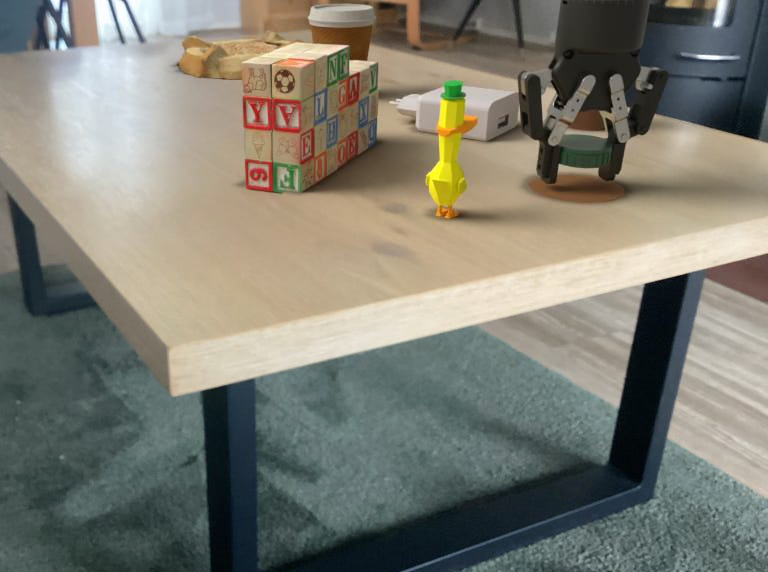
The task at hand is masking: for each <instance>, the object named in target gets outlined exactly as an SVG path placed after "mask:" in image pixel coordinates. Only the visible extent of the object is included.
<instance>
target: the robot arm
mask: <svg viewBox="0 0 768 572" xmlns="http://www.w3.org/2000/svg"><path fill="white" fill-rule="evenodd" d="M650 5H651V0H560V3H559V10H558V19H557V26H556V33H555V40H554V55H553V56H552V59H551V61H550V62H549V64H548V66H547V67H546V68H543V69H539V70H535V71H528V70H522V71H520V72H519V73H518V75H517V89H518V91H517V92H518V93H519V119H520V120H519V121H520V130H521V132H522V134H523V135H525V136H527V137H529V138H530V139H532V140H533V141H538V143H539V146H538V153H537V159H536V169H535V171H536V175H538V176H539V177H541V180H542V181H544V182H545V183H546V184H555V183H556V180H557V175H559V174H558V172H559V166H560V164H559V160H560V153H561V146H559V145H558V144H559V142H560V141H561V139H562V137H563V135H565V133H566V132H567V129H568V128H569V127H568V126H569V125H570V124H572V123H573V121H574V120H575V118H576V116H577V114H578V112H585V111H588V110H591V109H595V110H599V112H600V114H601V116H602V117H603V121H604V125H605V130H604V131H605V134H606V136H607V137H603V138H604V139H606V140H609V142H611V143H613V153H612V158H611V163H609V164H608V165H607V166H604V167H599V168H597V175H598V178H600V179H603V180H605V181H610V182H613V181H615V179H616V177H617V175H619V174H620V173H621V170H622V167H623V161H624V156H625V151H626V145H627V142H628V141H629V140H631V138H633V137H637V136H638V135H639V136H644V135H646V134H648V132H649V131H650V127H651V125H652V122H653V120H654V118H655V115H656V112H657V109H658V106H659V105H660V101H661V99H662V96H663V93H664V91H665V88H666V85H667V84H668V80H669V77H670V75H669V72H668V71H667V70H665V69H661V68H659V67H656V66H653V65H648V66H642V65H641V61H640V55H639V54H640V50H641V48H642V47H643V44H644V38H645V33H646V29H647V23H648V16H649V12H650ZM549 83H551V85H552V87H553V89H554V91H555V94H554V96H553V97H552V100H551V101H550V103H549V106H548V108H547V110H546V117H545V119H544V117H543V101H542V98H543V97H542V96H543V95H544V94H545V93H546V91H547V86H548V85H549ZM634 83H635V89H636V91H635V93H634V97H633V99H632V102H631V105H630V108H629V111H628V105H627V101H626V96H625V94H626V92H627V91H628V90H629V89H630V87H631V86H632V85H633V84H634Z"/></svg>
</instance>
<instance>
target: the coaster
mask: <svg viewBox="0 0 768 572" xmlns="http://www.w3.org/2000/svg"><path fill="white" fill-rule="evenodd" d="M528 187H529V189H530V190H531V191H532V192H533V193H535V194H537V195H540V196H542V197H546V198H549V199H553V200H558V201H565V202H571V203H587V204H588V203H590V204H591V203H605V202H611V201H615V200H619V199H620V198H622V197H624V195H625V192H626V191H625V189H624V188H623V187H622V186H621V185H620V184H618V183H615V182H613V181H605V180H603V179H602V178H600V177H595V176H590V175H589V176H588V175H581V174H557V180H556V183H555V184H546V183H545V182H544V181H542V180H541V176H539V177H536V178H534V179H531V180H530V181H529V182H528Z"/></svg>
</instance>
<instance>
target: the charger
mask: <svg viewBox="0 0 768 572" xmlns="http://www.w3.org/2000/svg"><path fill="white" fill-rule="evenodd" d="M444 92H445V88H444V86H441V87H439V88H436V89H433V90H431V91H427V92H425V93H423V94H417V93H411V94H408V95H405V96H403V97H402V98H396V99H395V101H393V100H390V101H388V103H389V105H391V106H396V110H397V113H399V114H400V115H402V116H406V117H412V118H415V128H416V129H417V130H418V131H419V132H421V133H428V134H434V135H439V134H438V133H437V131H436V127H437V123H438V120H439V116H440V103H441V99H442V98H441V97H440V95H441V94H442V93H444ZM461 92H464V93H465V94H466V97H464V98H465V99H466V101H465V112H464V115H469V116H476V117H478V121H477V124H476V126H475V127H474V128H473V129H472V130H470V131H469V132H467V133H465V134H462V137H461V139H466V140H467V139H468V140H474V141H479V142H480V141H481V142H488V141H490V140H492V139H494V138H497V137H499V136H500V135H503V134H505V133H507V132H508V131H510V130H512V129H514V128H516V127H517V125H518V118H519V117H518V116H519V111H520V106H519V91H511V90H510V91H509V90H503V89H502V90H501V89H495V88H486V87H478V86H477V87H476V86H468V85H462V90H461Z"/></svg>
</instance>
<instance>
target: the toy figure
mask: <svg viewBox="0 0 768 572" xmlns="http://www.w3.org/2000/svg"><path fill="white" fill-rule="evenodd" d="M463 83H464V82H463V81H462V80H447V81H444V82H443V87H444V88H445V92H444V93H442V94H441V95H440V97H441V98H442V99H441V103H440V116H439V120H438V123H437V127H436V131H437V133H438V134H437V135H438V149H439V150H438V151H439V161H437V163H436V164H435V166H434V167H433V169H431V171H428V173H427V174H425V185H426V186H427V187H428V194H429V195H430V197H431V198H432V200H433V202H434V203H435V204H436V205H437V212H436V214H435V217H442V216H444V218H445V219H452V218H455V217H457V216H459V215H460V212H459V211H458V210H453V205H455V203H456V202H457V201H458V199H459V198H460V196H461V195H462V194H464V193H465V192H466V190H467V189H468V184H467V180H466V179H465V178H464V177H465V172H464V170H463V169H462V167H461V166H460V164H459V162H458V155H459V151H460V146H461V142H462V138H461V137H462V134H465V133H467V132H469V131H470V130H472V129H473V128H474V127H475V126H476V124H477V121H478V117H476V116H469V115H464V112H465V101H466V99H465V98H464V97H466V94H465V93H464V92H461V90H462V86H463ZM444 207H447V208H444Z"/></svg>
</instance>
